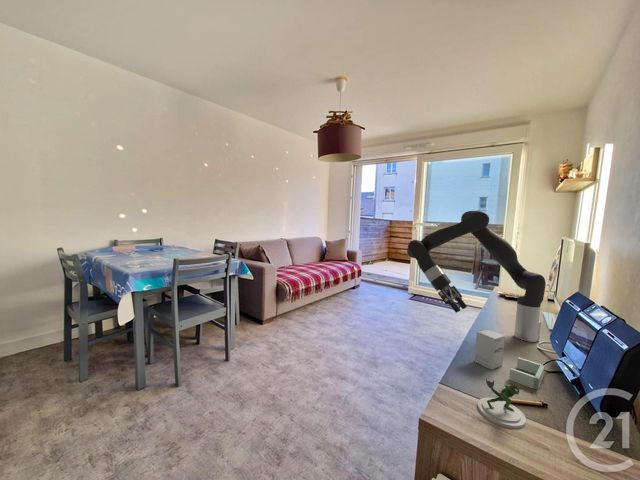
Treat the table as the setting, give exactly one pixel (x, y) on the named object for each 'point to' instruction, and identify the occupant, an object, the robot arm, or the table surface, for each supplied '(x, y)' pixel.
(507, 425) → the monster figurine
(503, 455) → the table surface
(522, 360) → the holder
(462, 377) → the table surface
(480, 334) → the supplement box
